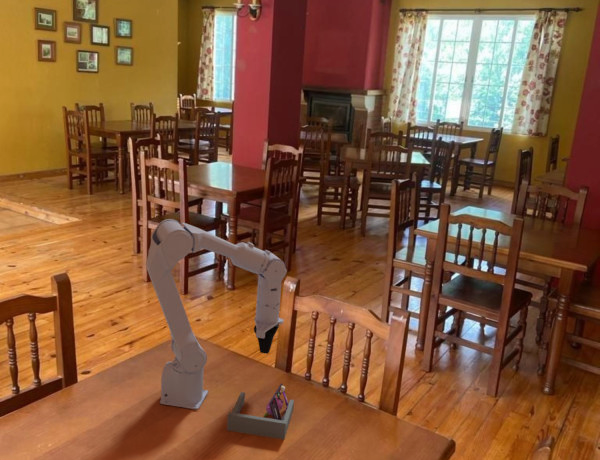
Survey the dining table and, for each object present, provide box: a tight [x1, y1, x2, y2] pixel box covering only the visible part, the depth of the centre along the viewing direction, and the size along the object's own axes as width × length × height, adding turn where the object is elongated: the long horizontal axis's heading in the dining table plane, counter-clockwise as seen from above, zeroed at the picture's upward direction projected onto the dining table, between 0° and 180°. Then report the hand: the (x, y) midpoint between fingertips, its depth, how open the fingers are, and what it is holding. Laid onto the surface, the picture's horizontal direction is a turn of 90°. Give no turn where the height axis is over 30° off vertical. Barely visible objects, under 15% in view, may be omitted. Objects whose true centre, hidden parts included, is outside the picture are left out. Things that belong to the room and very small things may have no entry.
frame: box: [226, 391, 295, 440], centre depth 132 cm, size 13×12×4 cm
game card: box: [263, 383, 289, 420], centre depth 133 cm, size 7×5×9 cm
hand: (264, 352), depth 144 cm, fingers closed
